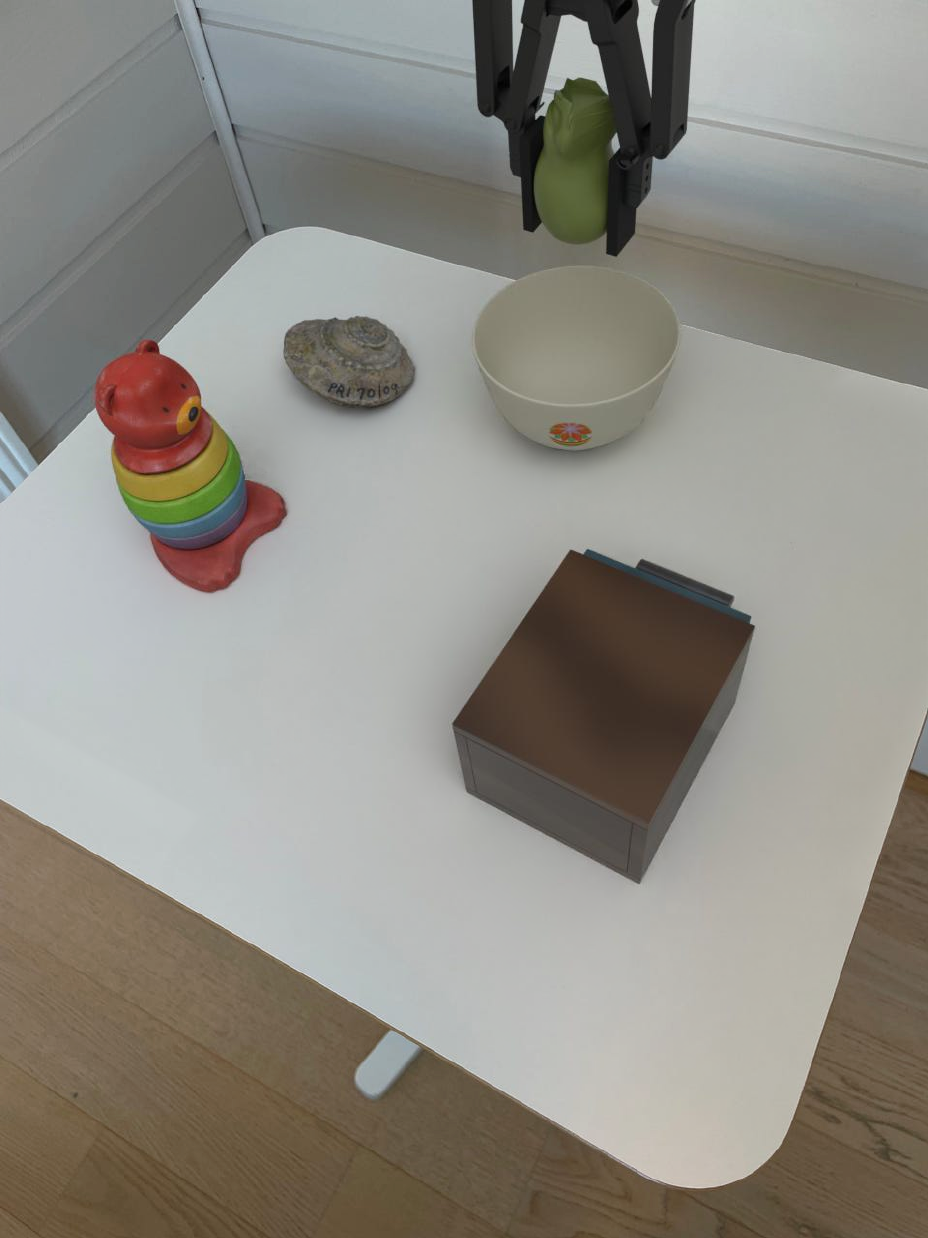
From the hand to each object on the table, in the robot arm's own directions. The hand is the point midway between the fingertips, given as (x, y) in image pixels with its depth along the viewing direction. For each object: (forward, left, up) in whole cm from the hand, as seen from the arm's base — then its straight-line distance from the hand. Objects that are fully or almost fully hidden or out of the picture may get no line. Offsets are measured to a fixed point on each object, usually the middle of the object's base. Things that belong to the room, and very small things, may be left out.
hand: (578, 230), depth 67 cm
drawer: (-14, +20, -20) cm, 31 cm away
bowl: (+2, -2, -21) cm, 21 cm away
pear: (0, 0, -1) cm, 1 cm away
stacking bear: (+23, +22, -21) cm, 38 cm away
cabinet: (-14, +24, -21) cm, 35 cm away
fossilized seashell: (+23, +2, -21) cm, 31 cm away
